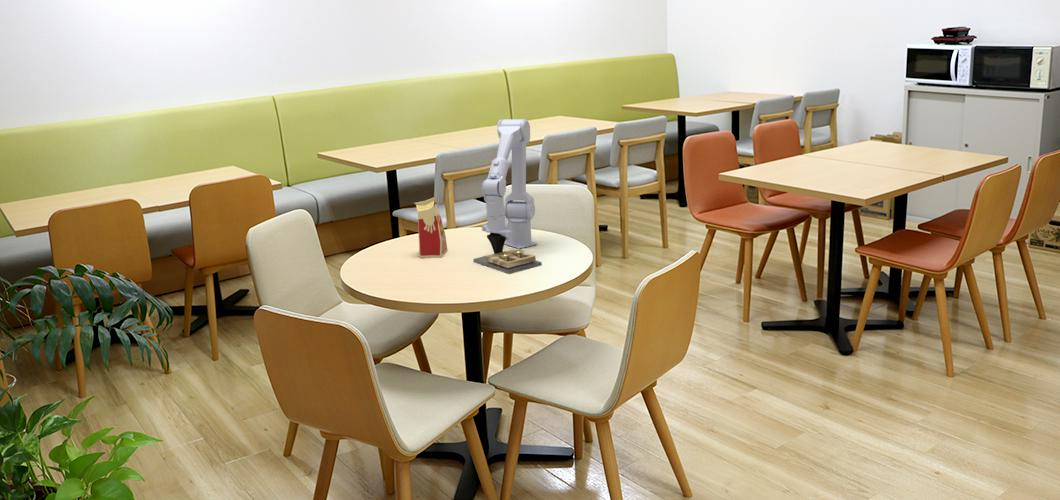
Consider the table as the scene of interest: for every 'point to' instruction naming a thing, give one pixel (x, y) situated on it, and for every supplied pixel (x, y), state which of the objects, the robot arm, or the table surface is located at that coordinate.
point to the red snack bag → (430, 230)
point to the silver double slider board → (505, 255)
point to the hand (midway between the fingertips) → (498, 255)
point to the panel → (510, 259)
